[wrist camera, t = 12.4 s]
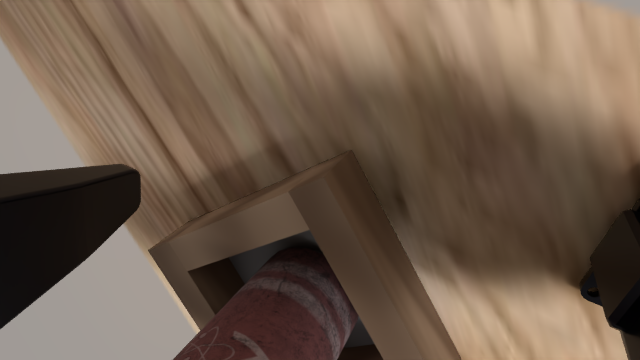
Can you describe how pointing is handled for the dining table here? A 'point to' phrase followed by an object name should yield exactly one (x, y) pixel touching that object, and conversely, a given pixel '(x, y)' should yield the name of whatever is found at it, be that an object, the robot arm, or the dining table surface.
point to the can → (280, 314)
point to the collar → (320, 234)
